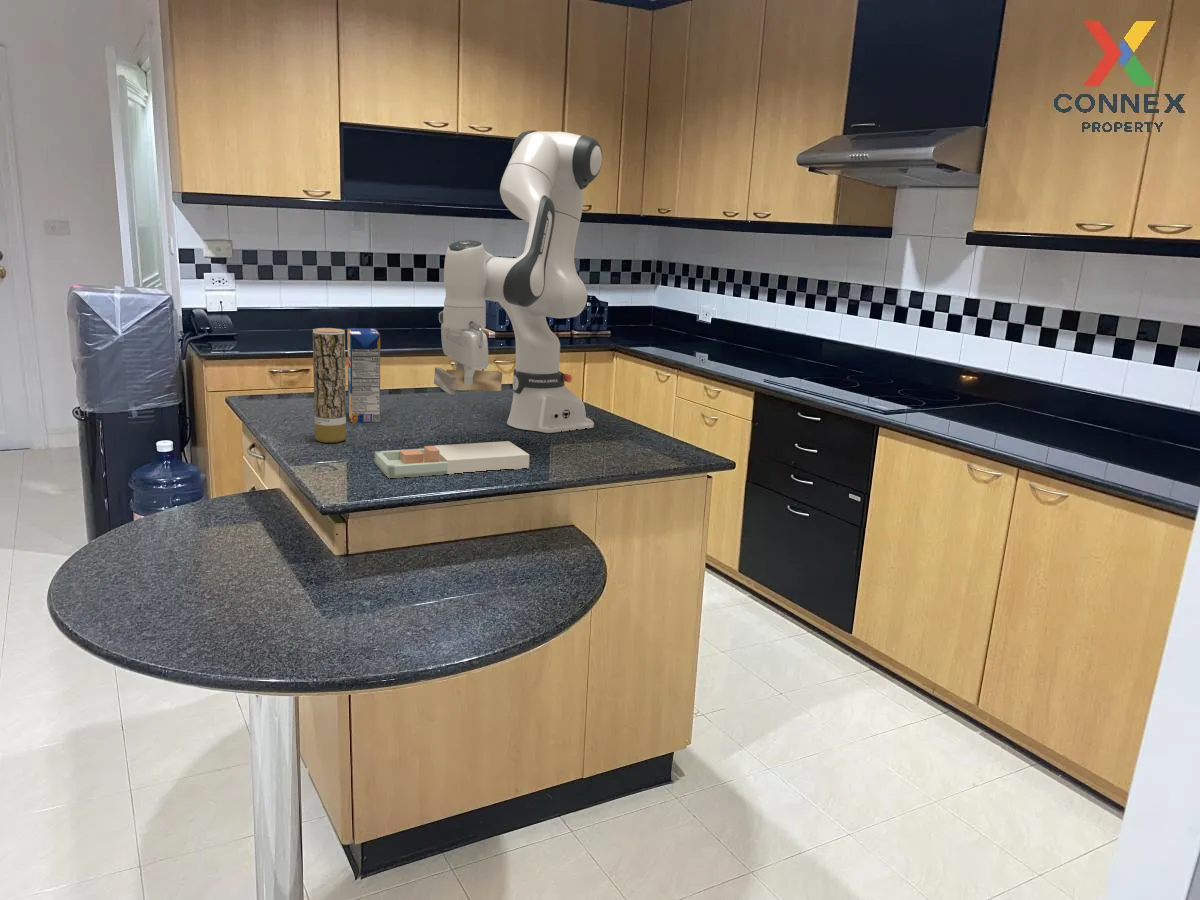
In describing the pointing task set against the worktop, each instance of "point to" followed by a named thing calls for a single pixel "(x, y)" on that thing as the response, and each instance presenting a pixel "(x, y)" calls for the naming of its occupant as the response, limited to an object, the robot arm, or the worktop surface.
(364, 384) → the beverage box
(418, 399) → the worktop surface
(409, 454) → the tile
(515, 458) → the board
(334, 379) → the paper tube
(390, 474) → the tray
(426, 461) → the tile
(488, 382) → the scraper
